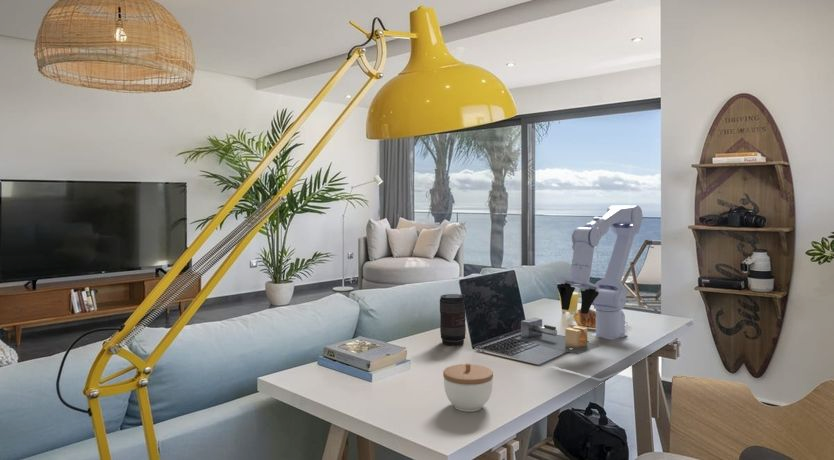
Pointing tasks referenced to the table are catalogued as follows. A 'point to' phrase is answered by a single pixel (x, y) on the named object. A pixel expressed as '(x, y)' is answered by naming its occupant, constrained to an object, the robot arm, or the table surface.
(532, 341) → the mat
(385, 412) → the table surface
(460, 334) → the camera lens
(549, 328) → the shaft assembly
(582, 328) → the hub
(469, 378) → the lidded jar
